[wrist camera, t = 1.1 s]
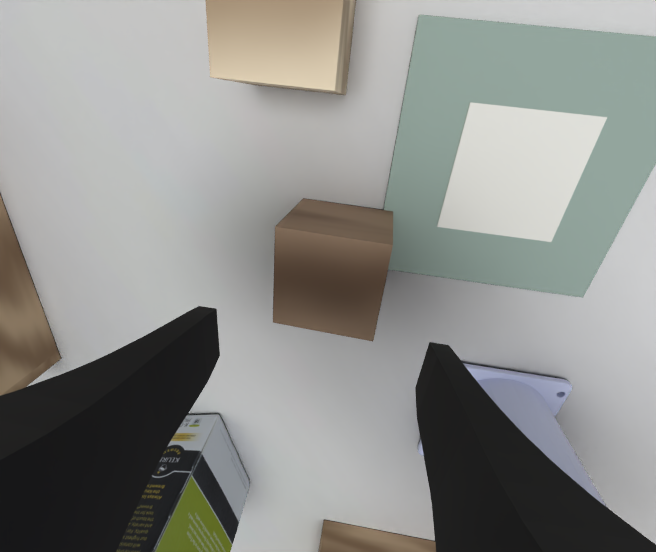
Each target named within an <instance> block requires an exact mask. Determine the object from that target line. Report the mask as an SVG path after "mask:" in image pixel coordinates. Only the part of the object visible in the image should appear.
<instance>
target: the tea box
mask: <svg viewBox="0 0 656 552" xmlns="http://www.w3.org/2000/svg"><path fill="white" fill-rule="evenodd" d="M249 486H250V483H249V479H248V477H247V475H246V472H245V470H244V468H243V465H242V463H241V461H240V458H239V456H238V454H237V452H236V449H235V447H234V445H233V443H232V441H231V438H230V436H229V434H228V432H227V429H226V427H225V425H224V423H223V421H222V419H221V417H220V416H219V415H218V414H214V415H187V416H186V417H185V419H184V420H183V422H182V424H181V425H180V427H179V428H178V430H177V432H176V433H175V435H174V436H173V438H172V439H171V441H170V443H169V445H168V446H167V448H166V450H165V452H164V453H163V455H162V457H161V459H160V461H159V463H158V465H157V467H156V469H155V471H154V473H153V475H152V477H151V479H150V481H149V483H148V485H147V487H146V489H145V491H144V493H143V495H142V497H141V499H140V501H139V504H138V506H137V508H136V510H135V512H134V514H133V516H132V518H131V520H130V522H129V525H128V527H127V529H126V531H125V534H124V536H123V538H122V540H121V542H120V545H119V547H118V549H117V551H116V552H230V550H231V547H232V544H233V541H234V538H235V534H236V532H237V527H238V524H239V521H240V518H241V514H242V511H243V508H244V504H245V500H246V497H247V493H248V490H249Z"/></svg>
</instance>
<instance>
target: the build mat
mask: <svg viewBox="0 0 656 552" xmlns="http://www.w3.org/2000/svg"><path fill="white" fill-rule="evenodd" d="M655 164H656V37H655V36H644V35H633V34H622V33H611V32H601V31H590V30H579V29H568V28H558V27H547V26H536V25H525V24H515V23H504V22H493V21H482V20H472V19H461V18H450V17H439V16H428V15H419V17H418V22H417V28H416V33H415V39H414V44H413V50H412V55H411V61H410V66H409V72H408V77H407V83H406V88H405V94H404V99H403V105H402V110H401V116H400V121H399V127H398V132H397V138H396V143H395V149H394V154H393V160H392V165H391V171H390V176H389V182H388V187H387V193H386V198H385V204H384V209H383V210H386V211H393V247H392V252H391V257H390V262H389V267H388V270H394V271H401V272H408V273H415V274H422V275H429V276H436V277H443V278H450V279H457V280H464V281H471V282H478V283H485V284H492V285H499V286H506V287H513V288H520V289H527V290H534V291H541V292H548V293H554V294H561V295H568V296H575V297H582V298H583V296H584V295H585V293H586V291H587V289H588V287H589V285H590V284H591V282H592V280H593V278H594V276H595V274H596V273H597V271H598V269H599V267H600V265H601V263H602V261H603V260H604V258H605V256H606V254H607V252H608V250H609V249H610V247H611V245H612V243H613V241H614V239H615V238H616V236H617V234H618V232H619V230H620V228H621V227H622V225H623V223H624V221H625V219H626V217H627V216H628V214H629V212H630V210H631V208H632V206H633V204H634V203H635V201H636V199H637V197H638V195H639V193H640V192H641V190H642V188H643V186H644V184H645V182H646V181H647V179H648V177H649V175H650V173H651V171H652V170H653V168H654V166H655Z"/></svg>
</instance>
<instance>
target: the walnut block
mask: <svg viewBox="0 0 656 552" xmlns="http://www.w3.org/2000/svg"><path fill="white" fill-rule="evenodd" d="M392 247H393V211H386V210H379V209H372V208H365V207H359V206H352V205H345V204H338V203H331V202H324V201H317V200H311V199H304V198H303V199H302V200H301V201H300V202H299V203H298V204H297V205H296V206H295V207H294V208H293V209H292V210H291V211H290V212H289V213H288V214H287V215H286V216H285V217H284V218H283V219H282V220H281V221H280V222H279V223H278V224H277V225H276V226H275V256H274V297H273V322H274V323H279V324H285V325H290V326H295V327H300V328H306V329H311V330H316V331H321V332H327V333H332V334H337V335H342V336H348V337H353V338H358V339H363V340H369V341H373V340H374V335H375V330H376V325H377V320H378V315H379V310H380V306H381V301H382V296H383V291H384V286H385V281H386V277H387V272H388V267H389V262H390V257H391V252H392Z"/></svg>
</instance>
